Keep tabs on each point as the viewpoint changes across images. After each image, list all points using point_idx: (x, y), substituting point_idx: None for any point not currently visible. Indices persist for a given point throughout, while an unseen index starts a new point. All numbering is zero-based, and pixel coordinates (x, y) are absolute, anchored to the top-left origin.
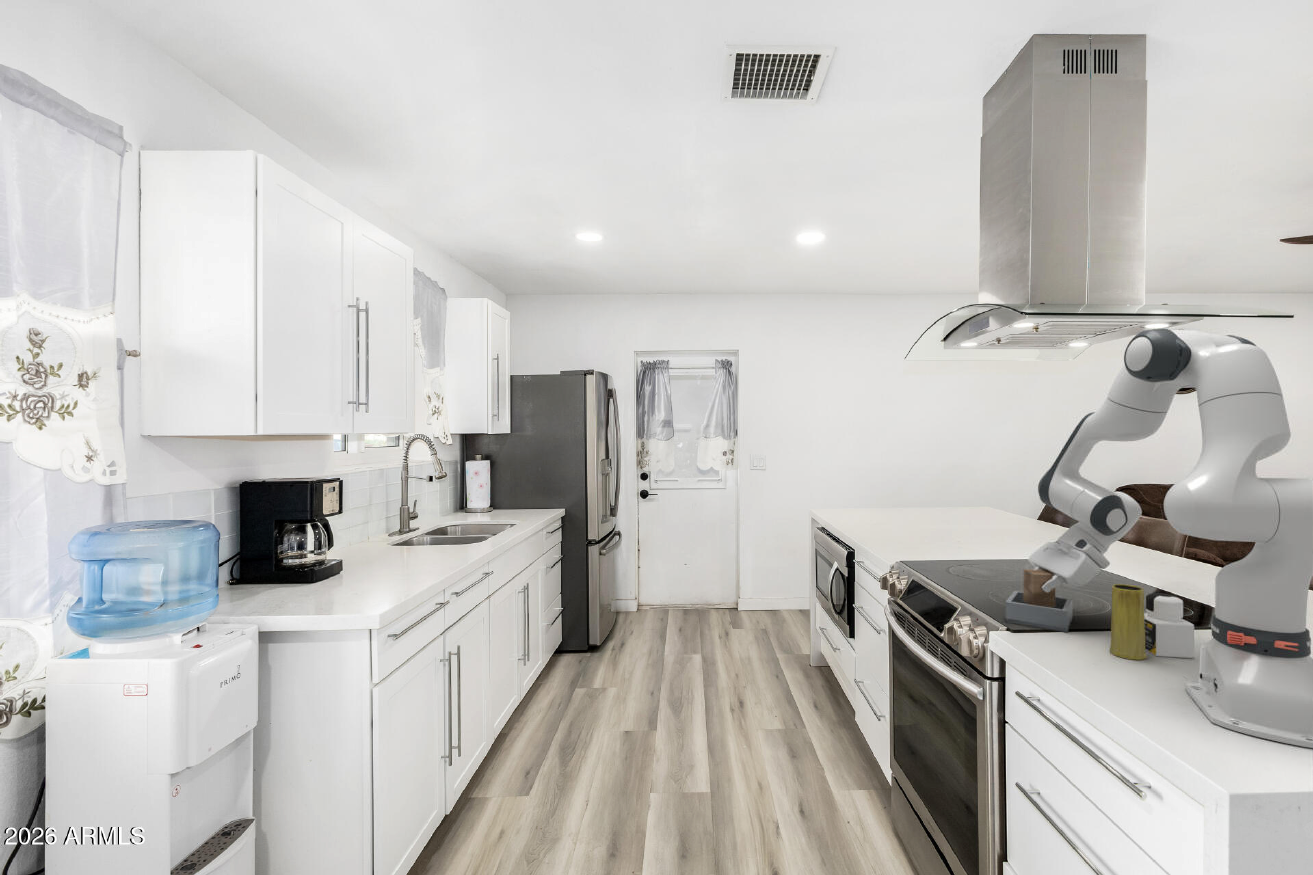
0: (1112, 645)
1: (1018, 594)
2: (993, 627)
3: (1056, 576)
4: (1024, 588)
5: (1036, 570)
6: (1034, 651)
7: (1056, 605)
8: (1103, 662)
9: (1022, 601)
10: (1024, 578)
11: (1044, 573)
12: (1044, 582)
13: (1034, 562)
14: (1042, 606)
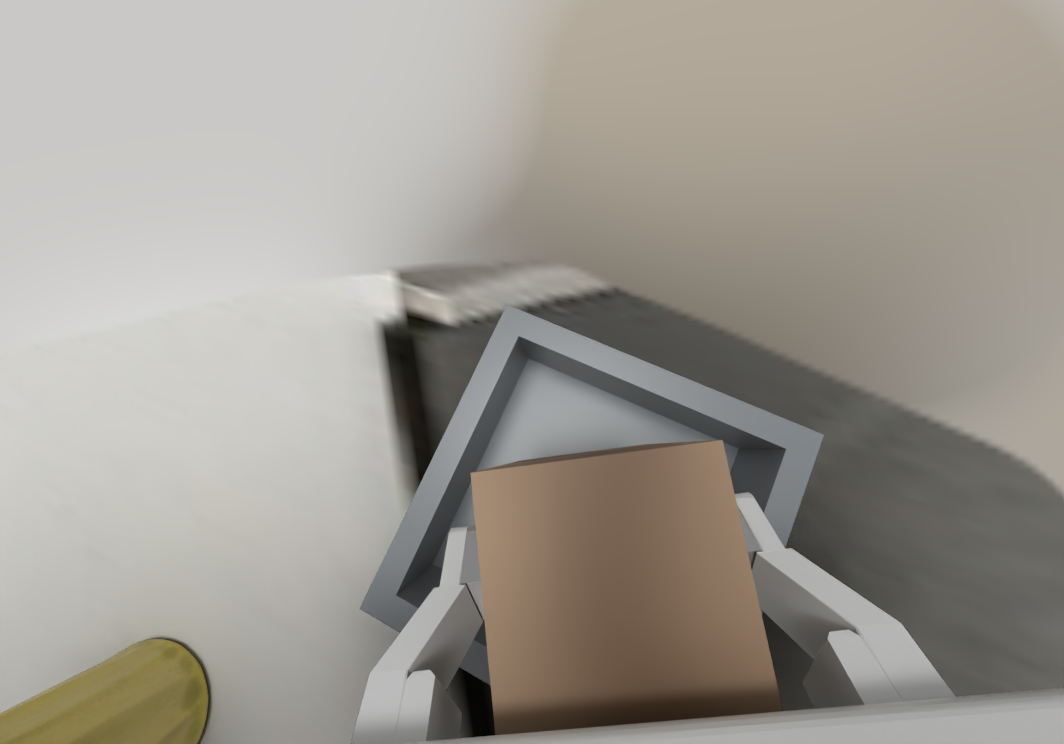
0: (118, 660)
1: (775, 451)
2: (435, 271)
3: (369, 719)
4: (648, 445)
5: (697, 590)
6: (178, 346)
7: None
8: (78, 555)
9: (748, 471)
10: (666, 444)
11: (540, 632)
12: None
13: (1048, 701)
14: (444, 490)
